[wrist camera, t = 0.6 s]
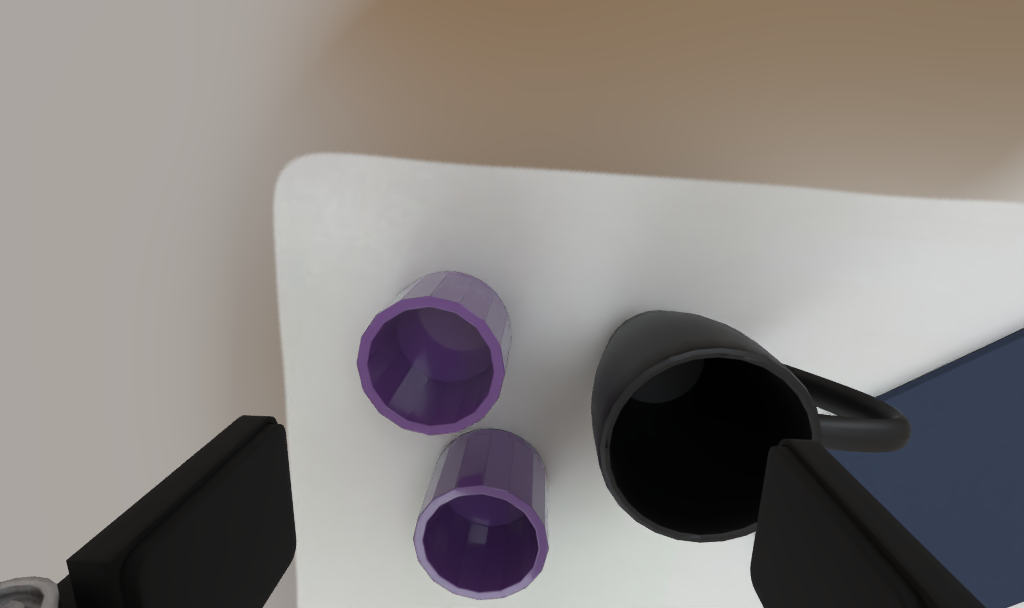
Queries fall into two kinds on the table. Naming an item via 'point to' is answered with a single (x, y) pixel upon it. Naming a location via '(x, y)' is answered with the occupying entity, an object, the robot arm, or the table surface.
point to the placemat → (961, 469)
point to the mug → (713, 422)
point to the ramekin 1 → (436, 354)
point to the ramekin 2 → (485, 516)
